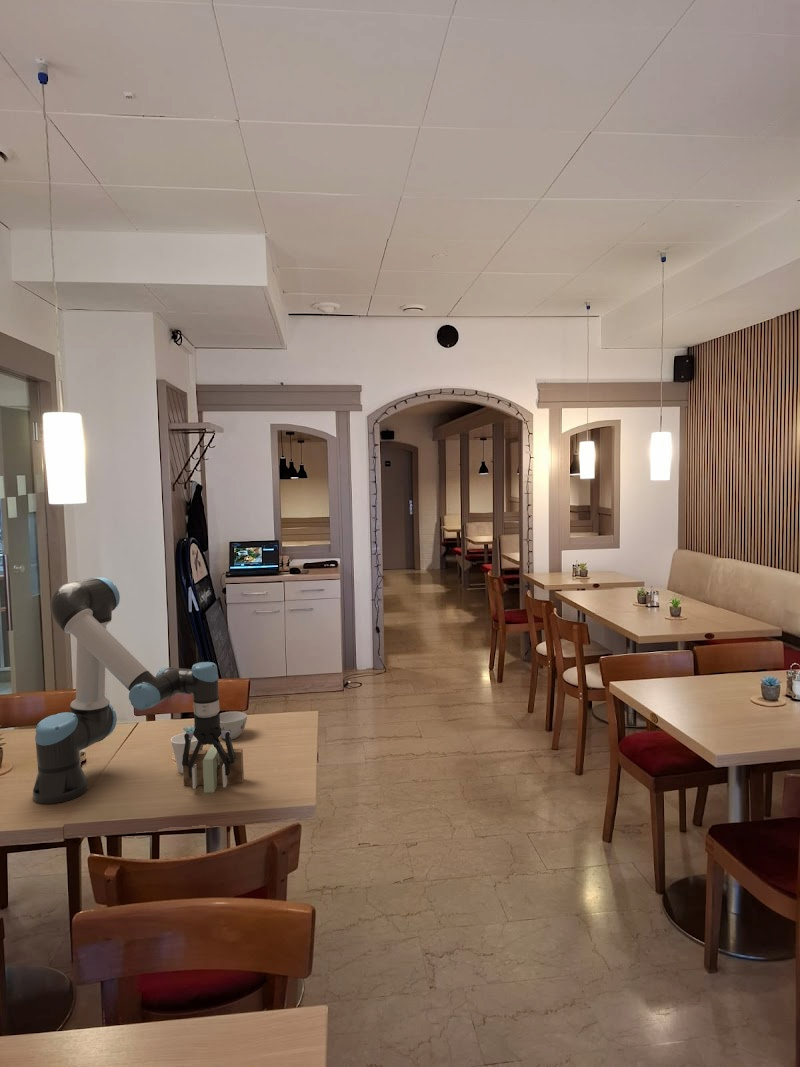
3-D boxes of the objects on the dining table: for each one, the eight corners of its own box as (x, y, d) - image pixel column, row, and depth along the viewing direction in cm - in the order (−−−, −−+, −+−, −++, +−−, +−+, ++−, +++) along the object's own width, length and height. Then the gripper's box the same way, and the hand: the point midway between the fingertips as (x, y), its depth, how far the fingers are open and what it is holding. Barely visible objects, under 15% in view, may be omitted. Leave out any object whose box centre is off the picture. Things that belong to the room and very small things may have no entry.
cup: (194, 777, 226) (192, 744, 225) (166, 775, 228) (164, 742, 227) (208, 765, 236) (207, 732, 235) (181, 763, 238) (180, 731, 237)
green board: (214, 792, 215) (212, 760, 214) (204, 792, 215) (202, 760, 214) (223, 773, 229) (221, 743, 228) (213, 773, 229) (212, 743, 228)
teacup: (253, 732, 266) (252, 711, 265) (238, 744, 254) (237, 722, 253) (217, 729, 269) (216, 709, 269) (200, 741, 257) (199, 720, 256)
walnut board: (184, 785, 220) (182, 754, 219) (186, 781, 223) (184, 750, 222) (242, 783, 221) (240, 752, 220) (243, 779, 224) (242, 748, 223)
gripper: (168, 719, 210) (171, 792, 212) (239, 716, 211) (242, 789, 213) (174, 711, 218) (178, 782, 220) (244, 708, 219) (247, 779, 221)
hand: (210, 785), depth 216 cm, fingers open, 8 cm apart
